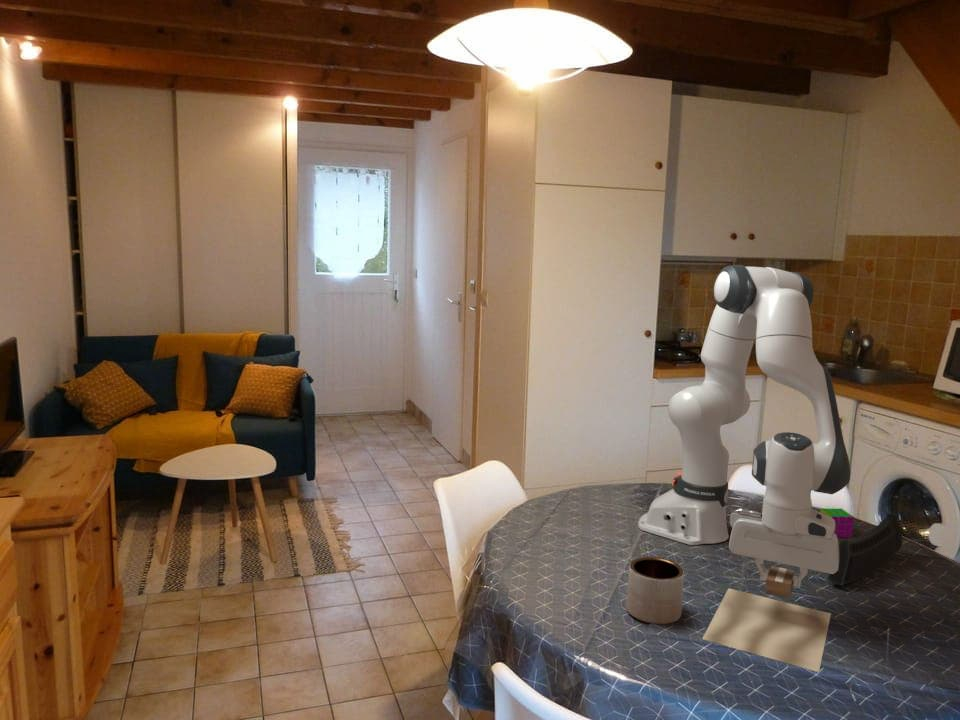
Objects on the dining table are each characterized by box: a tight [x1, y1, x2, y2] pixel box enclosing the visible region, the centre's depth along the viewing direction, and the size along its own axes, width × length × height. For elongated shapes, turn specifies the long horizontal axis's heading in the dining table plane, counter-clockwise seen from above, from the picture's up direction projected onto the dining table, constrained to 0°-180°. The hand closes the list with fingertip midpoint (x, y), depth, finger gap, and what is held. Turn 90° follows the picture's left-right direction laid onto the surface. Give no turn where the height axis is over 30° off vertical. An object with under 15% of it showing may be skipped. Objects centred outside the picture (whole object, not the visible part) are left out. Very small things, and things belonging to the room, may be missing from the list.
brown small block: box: [764, 565, 796, 600], centre depth 147 cm, size 7×4×3 cm, turn 151°
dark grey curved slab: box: [827, 513, 903, 586], centre depth 170 cm, size 17×3×30 cm
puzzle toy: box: [819, 507, 854, 538], centre depth 192 cm, size 6×6×6 cm
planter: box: [625, 556, 685, 625], centre depth 148 cm, size 11×11×10 cm
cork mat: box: [701, 588, 832, 673], centre depth 144 cm, size 20×24×1 cm
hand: (780, 583), depth 147 cm, fingers closed on brown small block, 4 cm apart
